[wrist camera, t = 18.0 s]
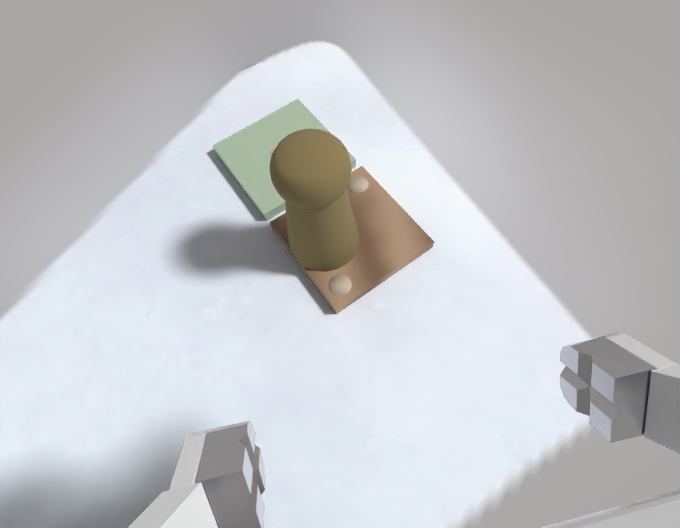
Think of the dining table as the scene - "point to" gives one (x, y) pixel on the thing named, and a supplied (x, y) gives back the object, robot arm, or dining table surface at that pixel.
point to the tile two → (367, 243)
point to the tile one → (264, 153)
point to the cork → (316, 198)
